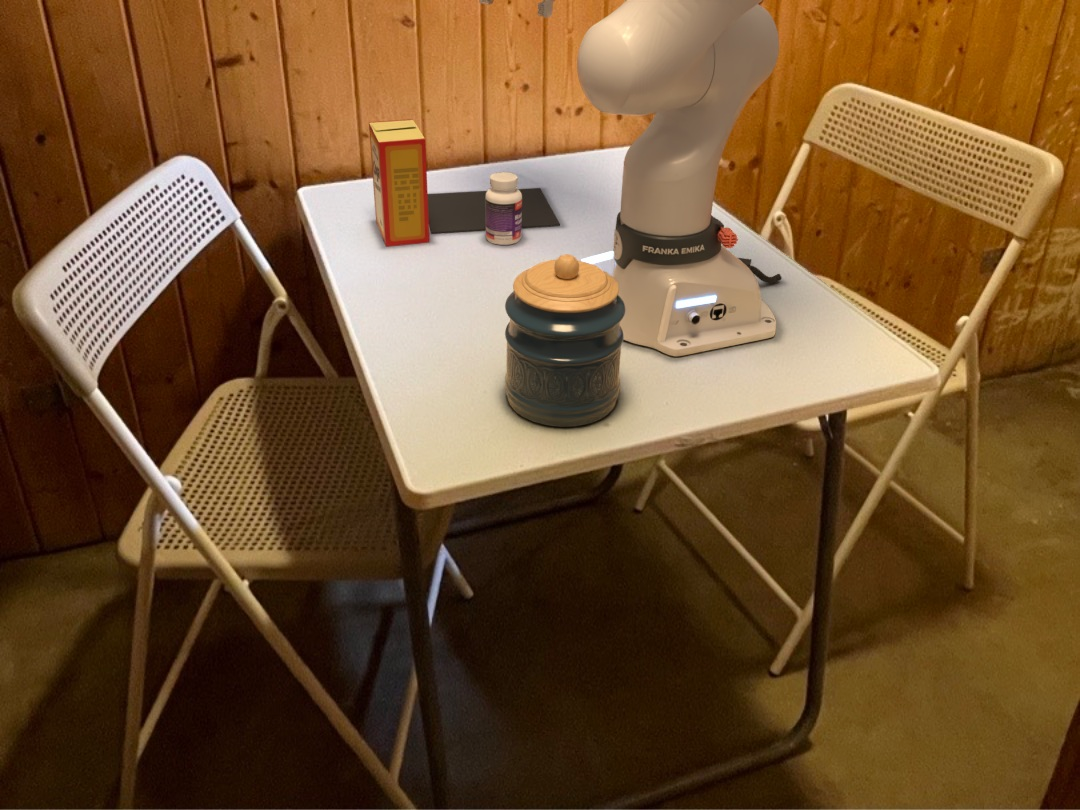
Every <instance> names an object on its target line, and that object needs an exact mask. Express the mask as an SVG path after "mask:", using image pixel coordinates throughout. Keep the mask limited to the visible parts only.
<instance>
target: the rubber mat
mask: <svg viewBox="0 0 1080 810" xmlns="http://www.w3.org/2000/svg"><path fill="white" fill-rule="evenodd" d="M517 189H518V190H519V191H520V192H521V194H522V229H529V228H530V229H533V228H549V227H550V228H551V227H560V226H561V222H560V221H559V219H558V218H557V216H556V214H555V212H554V210H553V208H552V207H551V205H550V203H549V201H548V199H547V197H546V196H545V194H544V192H543V190H542V189H541V187H533V188H532V187H531V188H530V187H529V188H517ZM487 191H488V190H479V191H478V190H477V191H476V190H475V191H460V192H459V191H458V192H457V191H456V192H442V193H439V192H438V193H428V216H429V231H430V233H431V235H435V234H450V233H451V234H452V233H453V234H454V233H467V232H469V233H470V232H482V231H483V232H486V192H487Z"/></svg>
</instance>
